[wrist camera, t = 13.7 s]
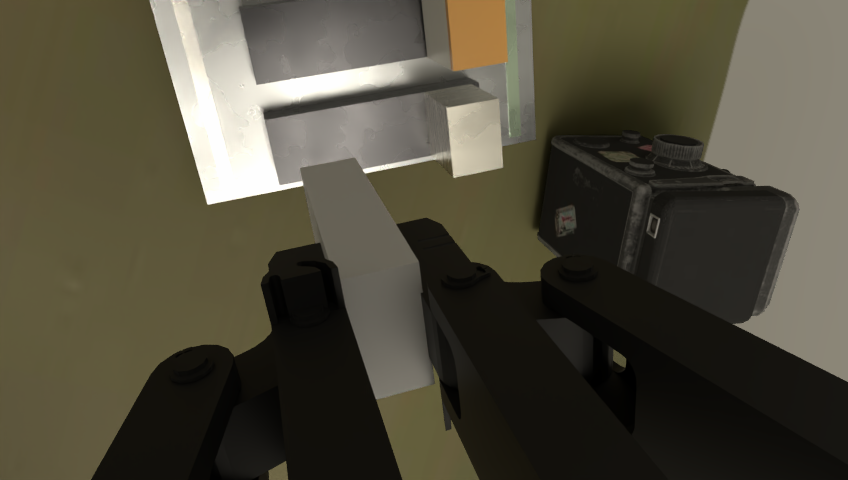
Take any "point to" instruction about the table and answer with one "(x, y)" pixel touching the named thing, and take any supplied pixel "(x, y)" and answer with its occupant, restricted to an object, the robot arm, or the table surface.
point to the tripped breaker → (465, 32)
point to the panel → (335, 90)
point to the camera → (668, 219)
